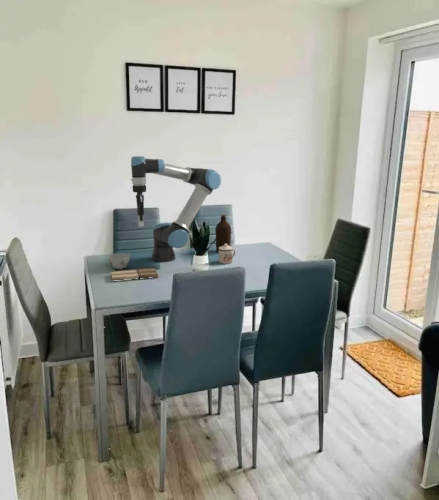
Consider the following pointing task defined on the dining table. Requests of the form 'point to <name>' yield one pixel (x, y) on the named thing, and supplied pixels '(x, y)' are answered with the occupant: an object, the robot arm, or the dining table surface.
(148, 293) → the dining table surface
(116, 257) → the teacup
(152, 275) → the walnut floor section
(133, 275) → the oak plank
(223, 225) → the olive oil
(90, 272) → the dining table surface
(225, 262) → the teacup with lid
